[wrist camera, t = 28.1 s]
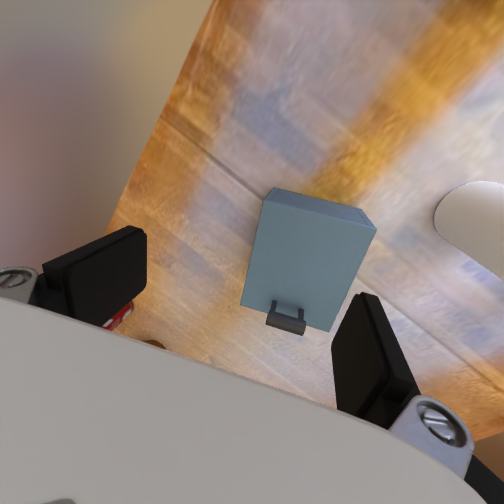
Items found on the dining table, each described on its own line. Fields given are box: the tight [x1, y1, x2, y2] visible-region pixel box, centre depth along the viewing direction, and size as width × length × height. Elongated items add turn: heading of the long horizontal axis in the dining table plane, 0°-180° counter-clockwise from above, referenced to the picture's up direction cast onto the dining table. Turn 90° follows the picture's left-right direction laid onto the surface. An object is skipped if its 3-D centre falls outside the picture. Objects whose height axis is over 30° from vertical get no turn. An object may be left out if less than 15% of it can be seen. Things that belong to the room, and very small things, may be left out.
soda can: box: [101, 302, 132, 331], centre depth 51 cm, size 7×7×12 cm
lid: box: [240, 199, 377, 336], centre depth 31 cm, size 17×14×5 cm
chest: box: [265, 187, 375, 227], centre depth 37 cm, size 16×14×9 cm
